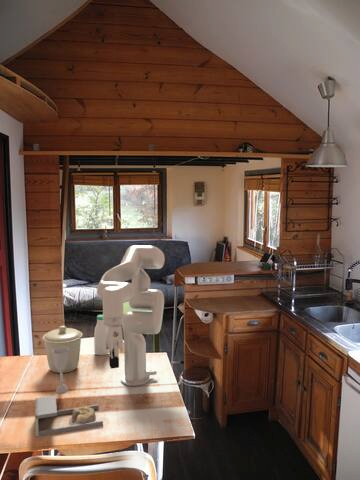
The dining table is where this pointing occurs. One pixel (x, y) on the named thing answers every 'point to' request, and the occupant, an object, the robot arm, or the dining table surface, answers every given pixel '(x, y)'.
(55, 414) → the low barrier
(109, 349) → the robot arm
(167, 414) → the dining table surface
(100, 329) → the milk bottle
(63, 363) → the chalice
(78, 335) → the canister
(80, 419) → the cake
